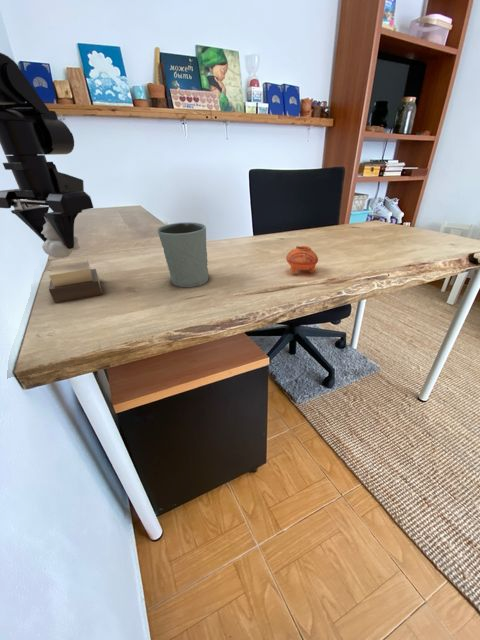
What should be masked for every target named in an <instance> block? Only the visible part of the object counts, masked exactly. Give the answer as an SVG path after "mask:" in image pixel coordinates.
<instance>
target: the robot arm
mask: <svg viewBox="0 0 480 640" xmlns="http://www.w3.org/2000/svg"><path fill="white" fill-rule="evenodd" d="M74 138H75V137H74V135H73V133H72V131H71V130H70V128H69V126H68V125H67V124H66V123H64V122H63V121H62V120H61V119H59V117H58V115H57V112H56V111H55V110H50V109H49V107H48V106H47V105H46V103H45V101H43V99H42V98H41V97H40V95H39V93H37V91H36V89H35V88H34V87H33V85H32V83H31V82H30V81H29V79H28V78H27V77H26V75H25V74H24V72H23V71H22V70H21V69H20V66H19V65H18V64H17V63H16V62H15V61H14V60H13V58H11V57H10V56H8V55H7V54H5V53H2V52H0V147H1V149H2V152H3V154H4V155H5V158H6V161H7V162H2V165H3V168H4V170H6V171H11V173H12V175H13V176H14V179H15V183H16V185H17V187H18V188H13V189H4V190H3V189H2V190H0V209H11V210H10V212H11V214H13V215H15V216H16V217H18V219H20V220H21V221H22V222H23V223H24V224H25V225H26V226H27V227H28V228H29V229H30V230H32V232H33V233H35V234H36V235H37V236H38V237H39V238H40V240H41V241H42V242H43V243H44V242H45V241H46V240H47V238H45V237H44V235H43V234H41V232H42V231H43V225H44V224H45V223H46V220H45V218H44V216H45V217H46V218H47V219H48V221H49V222H50V224H51V225H52V226H53V228H54V229H55V231H56V232H57V234H58V235H59V237H60V238H61V240H62V241H63V243H64V244H65V245H66V247H67V248H68V249H72V248H74V236H75V220H76V218H77V216H78V215H79V214H80V213H82V212H83V211H84V210H90V209H94V208H95V207H94V204H93V200H92V198H91V195H89V194H88V193H87V192H86V191H85V188H84V187H85V186H84V179H81V178H79V177H76V176H74V175H70V174H67V173H64V172H61V171H59V170H58V169H57V166H56V164H55V163H54V161H48V160H47V155H48V156H51V155H53V156H54V155H55V156H56V155H68V154H71V153H72V152H73V151H74V148H75V139H74ZM12 207H13V209H12ZM49 210H51V211H50V212H49Z"/></svg>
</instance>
